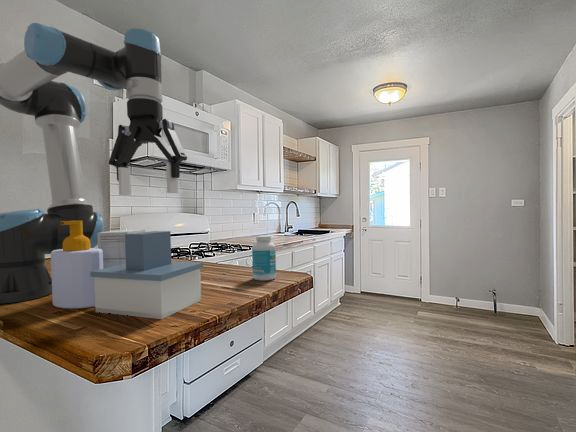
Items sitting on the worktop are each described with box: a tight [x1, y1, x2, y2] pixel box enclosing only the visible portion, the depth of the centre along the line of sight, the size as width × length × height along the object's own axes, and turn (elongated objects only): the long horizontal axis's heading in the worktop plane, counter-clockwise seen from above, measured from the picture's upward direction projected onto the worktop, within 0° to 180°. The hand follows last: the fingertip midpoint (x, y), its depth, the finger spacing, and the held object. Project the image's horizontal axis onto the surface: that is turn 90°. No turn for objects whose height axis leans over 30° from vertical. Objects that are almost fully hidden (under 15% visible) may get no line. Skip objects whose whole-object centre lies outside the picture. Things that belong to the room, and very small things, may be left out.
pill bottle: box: [251, 235, 277, 281], centre depth 102 cm, size 8×7×14 cm
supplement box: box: [97, 229, 146, 269], centre depth 93 cm, size 10×9×17 cm
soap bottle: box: [50, 221, 103, 310], centre depth 78 cm, size 13×8×20 cm, turn 75°
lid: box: [90, 230, 204, 281], centre depth 75 cm, size 19×15×11 cm
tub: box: [94, 268, 202, 320], centre depth 75 cm, size 18×14×8 cm
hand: (148, 194), depth 75 cm, fingers open, 13 cm apart
